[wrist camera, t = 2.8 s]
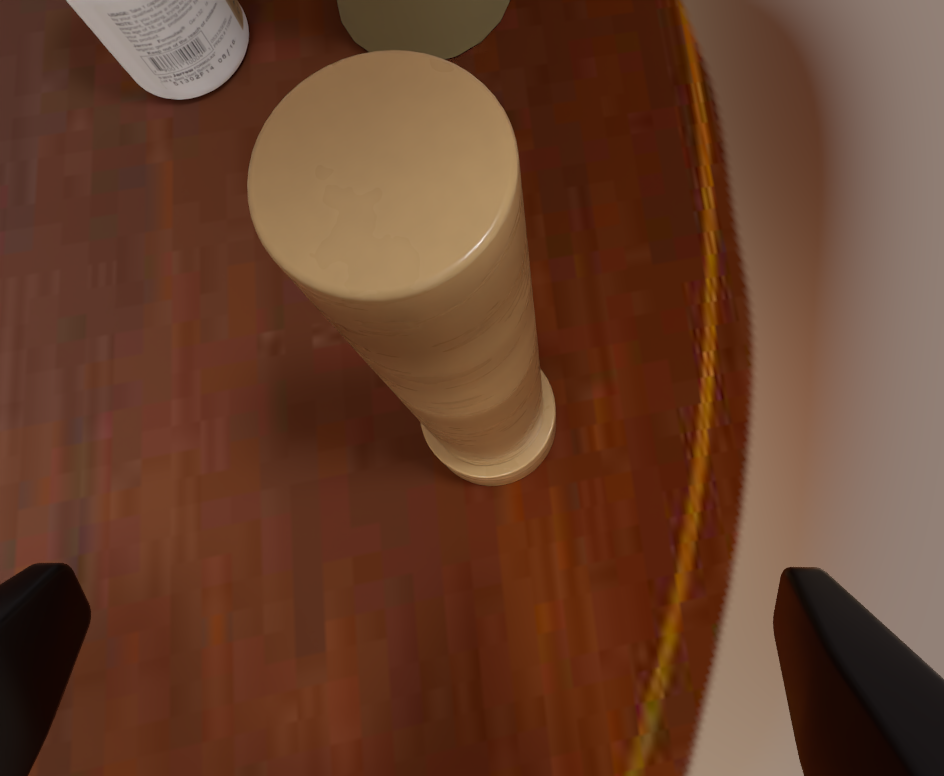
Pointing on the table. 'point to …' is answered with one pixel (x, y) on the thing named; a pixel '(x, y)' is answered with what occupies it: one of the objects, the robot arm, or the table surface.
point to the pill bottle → (171, 41)
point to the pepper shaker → (421, 24)
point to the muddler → (414, 247)
